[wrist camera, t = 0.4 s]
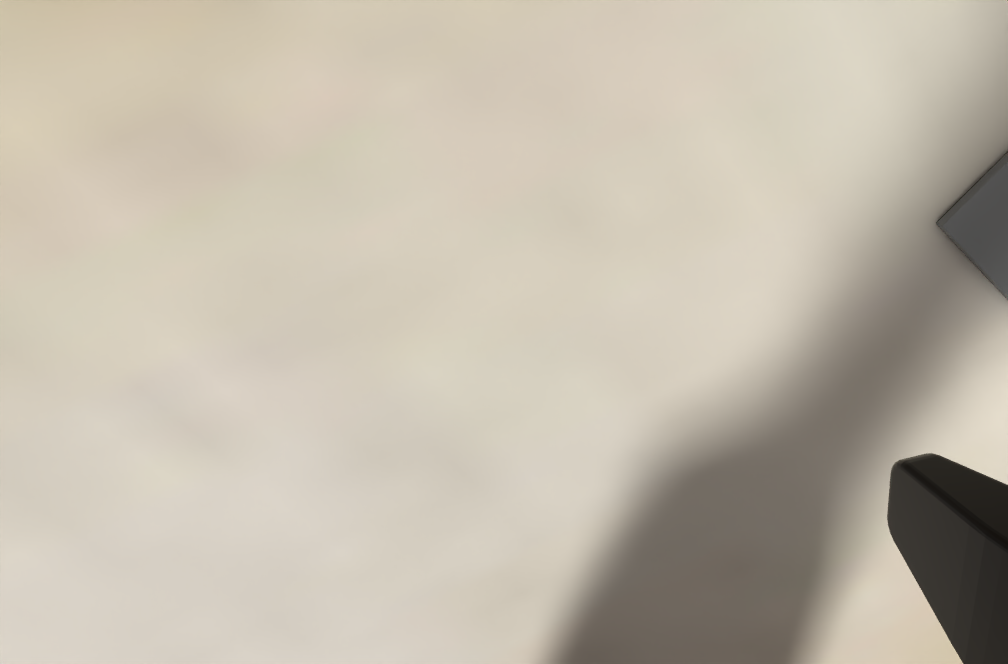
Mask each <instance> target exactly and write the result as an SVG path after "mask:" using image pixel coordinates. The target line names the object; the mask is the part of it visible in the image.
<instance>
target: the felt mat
mask: <svg viewBox="0 0 1008 664" xmlns="http://www.w3.org/2000/svg"><path fill="white" fill-rule="evenodd" d="M936 224H937V225H938V226H939V227H940V228H941V229H942V230H943V231H944V232H945V233H946V234H947V235H948V237H949V238H950V239H951V240H952V241H953V242H954V243H955V244H956V245H957V246H958V247H959V248H960V249H961V250H962V251H963V253H964V254H965V255H966V256H967V257H968V258H969V259H970V260H971V261H972V262H973V263H974V264H975V265H976V266H977V267H978V269H979V270H980V271H981V272H982V273H983V274H984V275H985V276H986V277H987V278H988V279H989V280H990V281H991V282H992V284H993V285H994V286H995V287H996V288H997V289H998V290H999V291H1000V292H1001V293H1002V294H1003V295H1004V296H1005V297H1006V298H1007V300H1008V152H1007V153H1006V154H1005V155H1004V156H1003V157H1002V158H1001V159H1000V160H999V161H998V162H997V163H996V164H995V165H994V166H993V167H992V168H991V169H990V170H989V171H988V172H987V173H986V174H985V175H984V176H983V177H982V178H981V179H980V180H979V181H978V182H977V183H976V184H975V185H974V186H973V187H972V188H971V189H970V190H969V191H968V192H967V193H966V194H965V195H964V196H963V197H962V198H961V199H960V200H959V201H958V202H957V203H956V204H955V205H954V206H953V207H952V208H951V209H950V210H949V211H948V212H947V213H946V214H945V215H944V216H943V217H942V218H941V219H940V220H939V221H938V222H937V223H936Z"/></svg>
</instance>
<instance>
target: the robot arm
mask: <svg viewBox="0 0 1008 664" xmlns="http://www.w3.org/2000/svg"><path fill="white" fill-rule="evenodd" d="M887 520H888V526H889V530H890V533H891V535H892V538H893V540H894V542H895V544H896V545H897V547H898V549H899V551H900V553H901V554H902V556H903V558H904V560H905V561H906V563H907V565H908V567H909V569H910V570H911V572H912V574H913V576H914V578H915V579H916V581H917V583H918V585H919V586H920V588H921V590H922V592H923V594H924V595H925V597H926V599H927V601H928V603H929V604H930V606H931V608H932V610H933V611H934V613H935V615H936V617H937V619H938V620H939V622H940V624H941V626H942V628H943V629H944V631H945V633H946V635H947V636H948V638H949V640H950V642H951V644H952V645H953V647H954V649H955V650H956V652H957V654H958V655H959V657H960V659H961V660H962V662H963V664H1008V485H1006V484H1004V483H1002V482H1000V481H997V480H995V479H993V478H990V477H988V476H986V475H983V474H981V473H979V472H977V471H974V470H972V469H970V468H967V467H965V466H963V465H960V464H958V463H956V462H953V461H951V460H949V459H947V458H944V457H942V456H939V455H936V454H932V453H931V454H923V455H918V456H914V457H910V458H906V459H902V460H899V461H897V462H896V463H895V464H894V465H893V467H892V470H891V477H890V489H889V501H888V514H887Z"/></svg>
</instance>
